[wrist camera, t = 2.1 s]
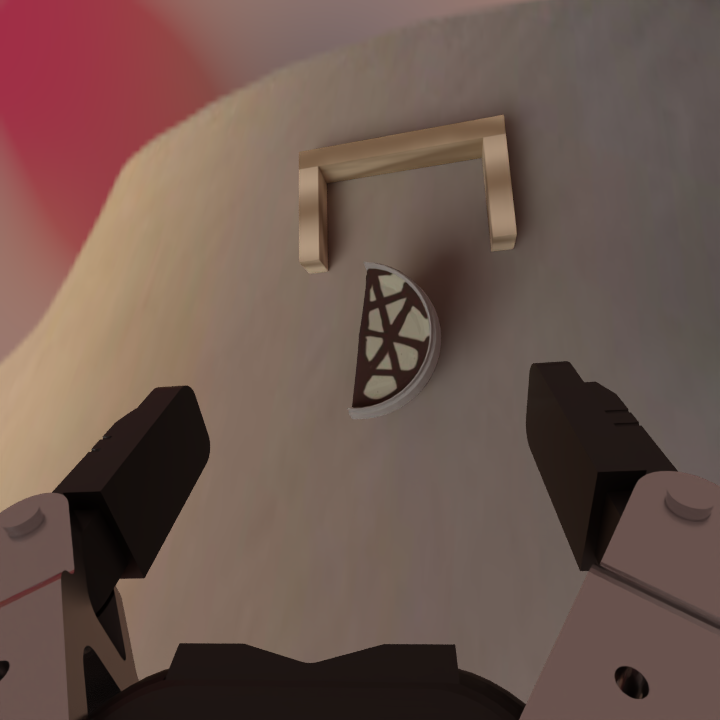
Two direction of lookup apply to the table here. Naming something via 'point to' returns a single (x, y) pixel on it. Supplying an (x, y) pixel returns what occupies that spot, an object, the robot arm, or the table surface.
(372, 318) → the food container
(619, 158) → the table surface
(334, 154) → the wooden bridge piece
